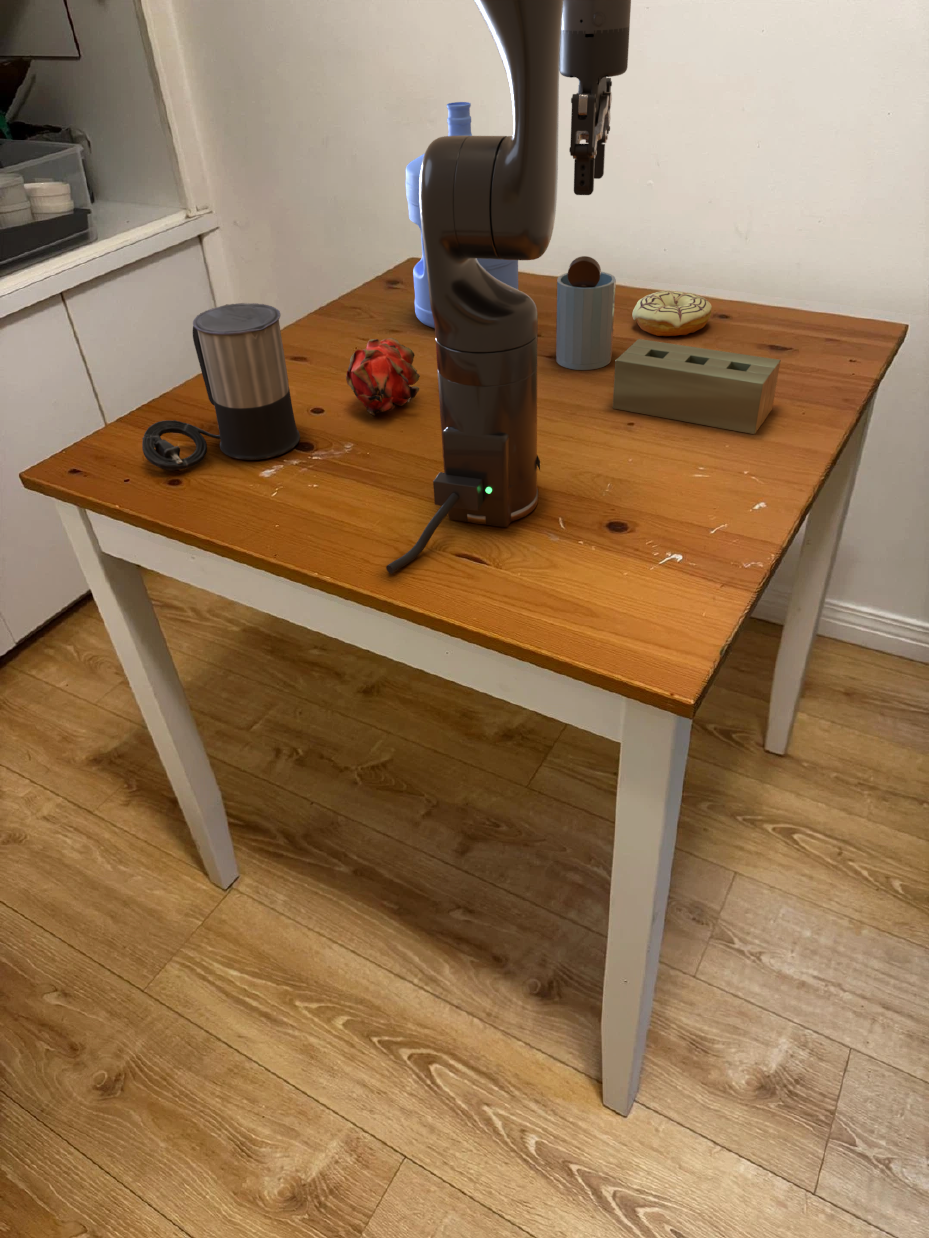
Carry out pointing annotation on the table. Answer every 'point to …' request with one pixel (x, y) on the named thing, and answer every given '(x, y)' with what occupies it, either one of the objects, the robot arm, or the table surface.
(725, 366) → the stand
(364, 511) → the table surface
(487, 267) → the water jug
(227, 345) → the milk frother
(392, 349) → the dragon fruit
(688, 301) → the decorated donut
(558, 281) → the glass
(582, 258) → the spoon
